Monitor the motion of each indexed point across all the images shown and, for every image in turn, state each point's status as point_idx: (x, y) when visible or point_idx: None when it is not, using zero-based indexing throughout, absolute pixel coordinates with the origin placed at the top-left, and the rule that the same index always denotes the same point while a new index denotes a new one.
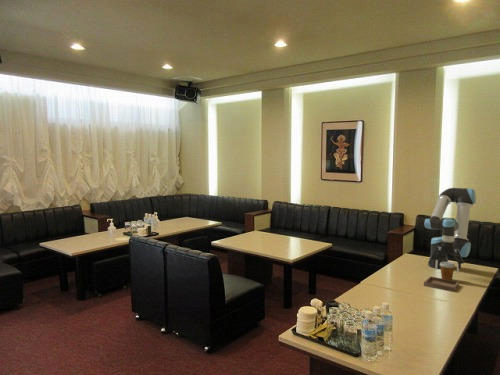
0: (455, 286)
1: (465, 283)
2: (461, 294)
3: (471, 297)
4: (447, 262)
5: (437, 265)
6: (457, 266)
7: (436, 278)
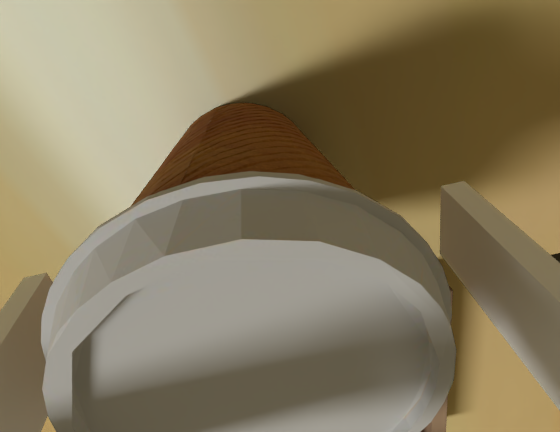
0: (445, 415)
1: (488, 121)
2: (486, 421)
3: (552, 419)
4: (177, 269)
5: (8, 329)
6: (534, 362)
7: None
